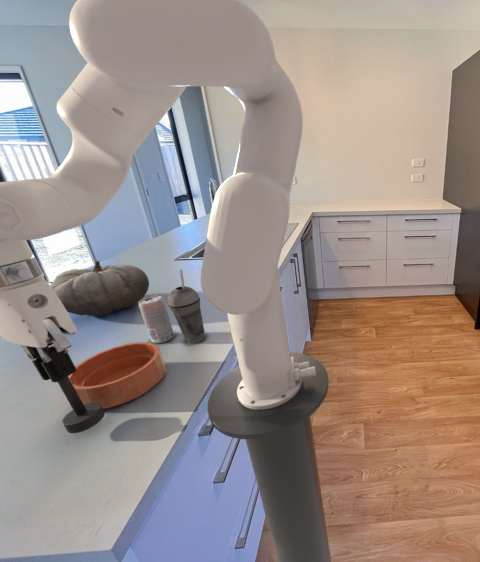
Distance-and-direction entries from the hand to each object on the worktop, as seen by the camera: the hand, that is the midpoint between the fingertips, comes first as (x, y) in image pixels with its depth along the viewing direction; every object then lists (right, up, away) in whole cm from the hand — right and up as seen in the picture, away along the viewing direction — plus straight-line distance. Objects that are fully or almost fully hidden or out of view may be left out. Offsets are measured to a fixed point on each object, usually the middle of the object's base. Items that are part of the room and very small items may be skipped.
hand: (60, 375), depth 50 cm
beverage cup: (+4, 0, +32) cm, 32 cm away
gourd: (-38, +6, +52) cm, 64 cm away
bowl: (-2, -7, +16) cm, 17 cm away
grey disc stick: (0, -10, +4) cm, 11 cm away
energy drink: (-6, 0, +33) cm, 34 cm away
